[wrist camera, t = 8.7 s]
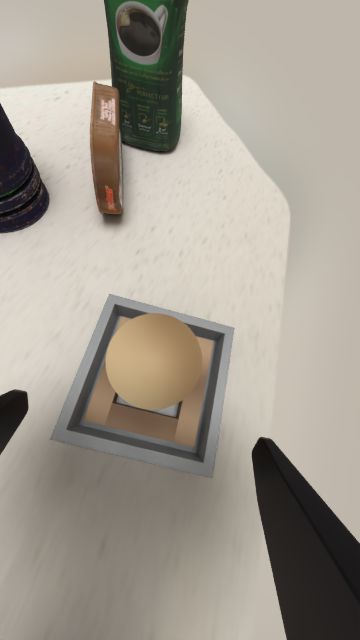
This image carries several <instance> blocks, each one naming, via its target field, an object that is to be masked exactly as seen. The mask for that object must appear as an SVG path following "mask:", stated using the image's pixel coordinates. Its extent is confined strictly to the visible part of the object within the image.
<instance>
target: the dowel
mask: <svg viewBox="0 0 360 640" xmlns="http://www.w3.org/2000/svg"><path fill="white" fill-rule="evenodd" d="M201 369H202V352H201V348H200V345H199V342H198V340H197V338H196V336H195V334H194V333H193V332H192V330H191V329H190V328H189V327H188V326H187V325H186V324H184V323H183V322H182V321H180V320H178V319H177V318H175V317H172V316H169V315H166V314H160V313H151V314H144V315H140V316H138V317H135V318H133V319H131V320H129V321H128V322H126V323H125V324H124V325H123V326H121V327H120V328H119V329H118V331H117V332H116V333H115V334H114V336H113V337H112V339H111V341H110V343H109V346H108V349H107V353H106V372H107V376H108V379H109V382H110V384H111V386H112V387H113V389H114V390H115V392H116V393H117V394H118V395H119V396H120V397H121V398H122V399H123V400H125V401H126V402H128V403H129V404H131V405H133V406H136V407H138V408H142V409H148V410H158V409H164V408H167V407H171V406H173V405H175V404H177V403H178V402H180V401H182V400H183V399H184V398H185V397H186V396H188V394H189V393H190V392H191V391H192V390H193V388H194V387H195V385H196V383H197V381H198V379H199V376H200V374H201Z"/></svg>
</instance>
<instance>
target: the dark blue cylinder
mask: <svg viewBox="0 0 360 640" xmlns="http://www.w3.org/2000/svg"><path fill="white" fill-rule="evenodd" d="M48 205H49V194H48V192H47V190H46V187H45V185H44V184H43V183H42V180H41V178H40V175H39V171H38V169H37V167H36V165H35V163H34V161H33V159H32V158H31V156H30V152H29V150H28V148H27V147H26V146H25V144H24V142H23V141H22V139H21V138H20V137H19V136H18V135H17V134H16V133H15V131H14V129H13V127H12V125H11V123H10V121H9V119H8V117H7V115H6V113H5V111H4V110H3V108H2V106H1V104H0V233H8V232H14V231H18V230H21V229H24V228H26V227H28V226H30V225H32V224H34V223H35V222H37V221H38V220H39V219H40V218H41V217H42V216H43V215H44V213H45V212H46V210H47V208H48Z"/></svg>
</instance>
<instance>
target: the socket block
mask: <svg viewBox="0 0 360 640" xmlns="http://www.w3.org/2000/svg"><path fill="white" fill-rule="evenodd" d="M129 320H131V319H129V318H125V317H122V316H121V318H120V321H119V323H118V326H117V329H116V332H117V331H118V329H119V328H120V327H121V326H123V325H124V324H125V323H126V322H128V321H129ZM116 332H115V333H116ZM196 338H197V340H198V342H199V345H200V348H201V352H202V369H201V374H200V376H199V379H198V381H197V383H196V385H195V387H194V388H193V390H192V391H191V392H190V393H189V394H188V396H186V397H185V398H184V399H183V400H182V401H180V402H179V405H178V410H177V414H176V417H173V416H169V415H165V414H161V413H157V412H153V411H149V410H145V409H141V408H137V407H133V406H129V405H125V404H121V403H117V402H116V400H117V397H118V394H117V393H116V392H115V390H114V389H113V387H112V386H111V384H110V382H109V379H108V376H107V372H106V359H105V362H104V364H103V367H102V370H101V373H100V375H99V378H98V381H97V384H96V386H95V389H94V392H93V394H92V397H91V400H90V403H89V405H88V408H87V411H86V414H85V416H84V419H83V421H88V422H92V423H96V424H100V425H104V426H108V427H112V428H116V429H120V430H124V431H129V432H133V433H137V434H141V435H145V436H149V437H153V438H157V439H161V440H165V441H169V442H174V443H178V444H182V445H186V446H190V447H195V441H196V436H197V430H198V425H199V419H200V414H201V408H202V403H203V397H204V392H205V386H206V381H207V375H208V370H209V364H210V359H211V353H212V348H213V342H214V341H211V340H208V339H204V338H200V337H196Z"/></svg>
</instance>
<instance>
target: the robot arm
mask: <svg viewBox="0 0 360 640" xmlns="http://www.w3.org/2000/svg"><path fill="white" fill-rule="evenodd" d="M27 411H28V395H27V392H26V391H22V390H16V389H15V390H11V391H9V392H7V393H5V394H3V395H1V396H0V455H1V453H2V452H3V450H4V449H5V447H6V445H7V444H8V442H9V441H10V439H11V437H12V436H13V434H14V433H15V431H16V430H17V428H18V426H19V425H20V423H21V422H22V420H23V418H24V417H25V415H26V414H27ZM252 461H253V469H254V478H255V486H256V494H257V501H258V506H259V511H260V516H261V521H262V525H263V530H264V535H265V539H266V544H267V549H268V554H269V558H270V563H271V568H272V572H273V577H274V582H275V586H276V591H277V596H278V600H279V605H280V610H281V614H282V619H283V624H284V629H285V633H286V638H287V640H360V543H359V542H358V541H357V540H356V538H355V537H354V536H353V535H352V534H351V533H350V531H349V530H348V529H347V528H346V527H345V525H344V524H343V523H342V522H341V521H340V520H339V519H338V517H337V516H336V515H335V514H334V513H333V511H332V510H331V509H330V508H329V507H328V505H327V504H326V503H325V502H324V501H323V499H322V498H321V497H320V496H319V495H318V494H317V492H316V491H315V490H314V489H313V488H312V486H310V484H309V483H308V482H307V481H306V480H305V478H304V477H303V476H302V475H301V474H300V472H299V471H298V470H297V469H296V468H295V466H294V465H293V464H292V463H291V462H290V461H289V459H288V458H287V457H286V456H285V455H284V453H283V452H282V451H281V450H280V449H279V447H278V446H277V445H276V444H275V443H274V442H273V440H271V439H270V438H265V437H260V438H259V439H258V441H257V443H256V445H255V446H254V448H253V450H252Z"/></svg>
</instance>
